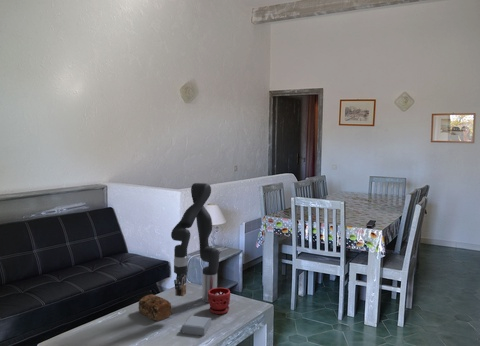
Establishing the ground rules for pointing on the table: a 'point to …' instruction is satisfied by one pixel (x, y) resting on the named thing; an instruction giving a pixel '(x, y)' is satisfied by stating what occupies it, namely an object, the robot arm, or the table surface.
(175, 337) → the table surface
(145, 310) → the bread
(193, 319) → the pedestal
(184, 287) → the walnut cube
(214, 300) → the plant pot
